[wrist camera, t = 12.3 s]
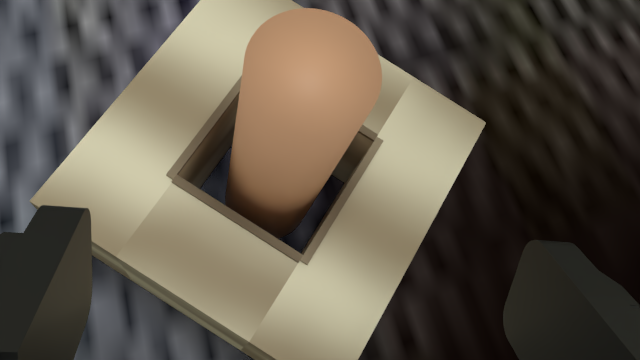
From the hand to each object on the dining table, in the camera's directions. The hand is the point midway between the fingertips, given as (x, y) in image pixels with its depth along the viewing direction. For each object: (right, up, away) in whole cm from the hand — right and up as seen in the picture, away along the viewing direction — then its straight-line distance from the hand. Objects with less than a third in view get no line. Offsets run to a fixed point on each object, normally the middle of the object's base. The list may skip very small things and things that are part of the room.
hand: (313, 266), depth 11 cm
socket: (-2, +1, +16) cm, 16 cm away
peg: (-2, +1, +16) cm, 16 cm away
